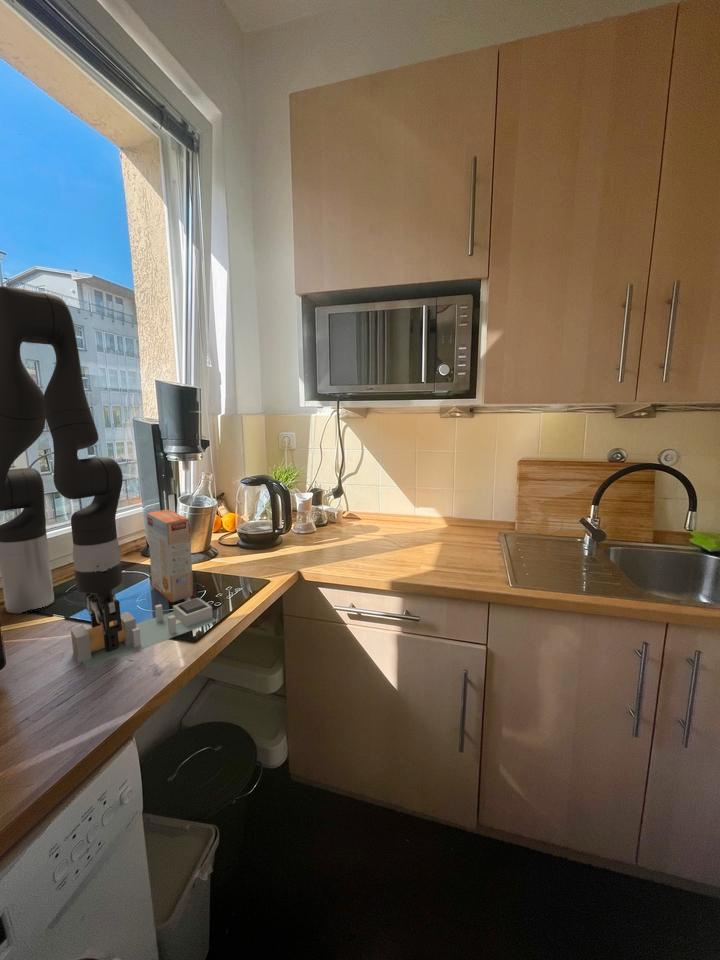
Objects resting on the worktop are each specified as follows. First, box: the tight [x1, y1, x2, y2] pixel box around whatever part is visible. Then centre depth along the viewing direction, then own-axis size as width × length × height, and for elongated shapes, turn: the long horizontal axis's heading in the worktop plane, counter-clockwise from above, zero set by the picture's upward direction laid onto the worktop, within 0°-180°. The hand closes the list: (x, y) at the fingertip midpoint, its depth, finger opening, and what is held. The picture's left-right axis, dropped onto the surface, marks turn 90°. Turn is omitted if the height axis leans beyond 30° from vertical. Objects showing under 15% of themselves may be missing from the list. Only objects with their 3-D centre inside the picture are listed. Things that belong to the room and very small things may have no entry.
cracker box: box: [146, 509, 194, 603], centre depth 106 cm, size 14×6×21 cm, turn 44°
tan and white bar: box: [70, 611, 137, 663], centre depth 81 cm, size 4×10×5 cm, turn 136°
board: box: [82, 597, 218, 670], centre depth 87 cm, size 11×25×4 cm, turn 136°
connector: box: [179, 598, 205, 614], centre depth 94 cm, size 4×4×3 cm
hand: (105, 641), depth 81 cm, fingers open, 8 cm apart
